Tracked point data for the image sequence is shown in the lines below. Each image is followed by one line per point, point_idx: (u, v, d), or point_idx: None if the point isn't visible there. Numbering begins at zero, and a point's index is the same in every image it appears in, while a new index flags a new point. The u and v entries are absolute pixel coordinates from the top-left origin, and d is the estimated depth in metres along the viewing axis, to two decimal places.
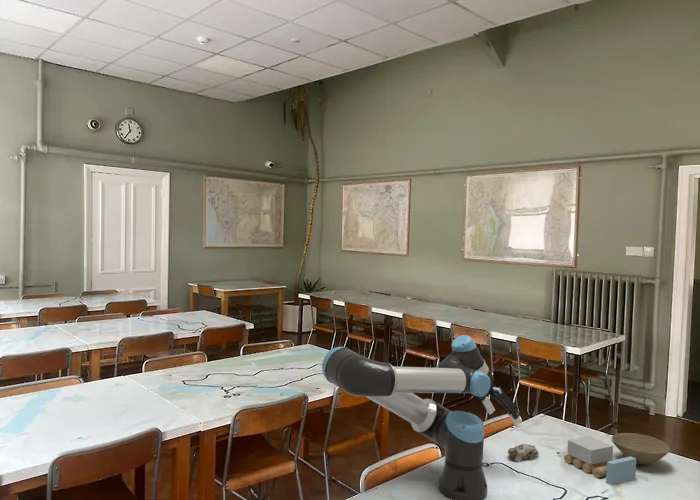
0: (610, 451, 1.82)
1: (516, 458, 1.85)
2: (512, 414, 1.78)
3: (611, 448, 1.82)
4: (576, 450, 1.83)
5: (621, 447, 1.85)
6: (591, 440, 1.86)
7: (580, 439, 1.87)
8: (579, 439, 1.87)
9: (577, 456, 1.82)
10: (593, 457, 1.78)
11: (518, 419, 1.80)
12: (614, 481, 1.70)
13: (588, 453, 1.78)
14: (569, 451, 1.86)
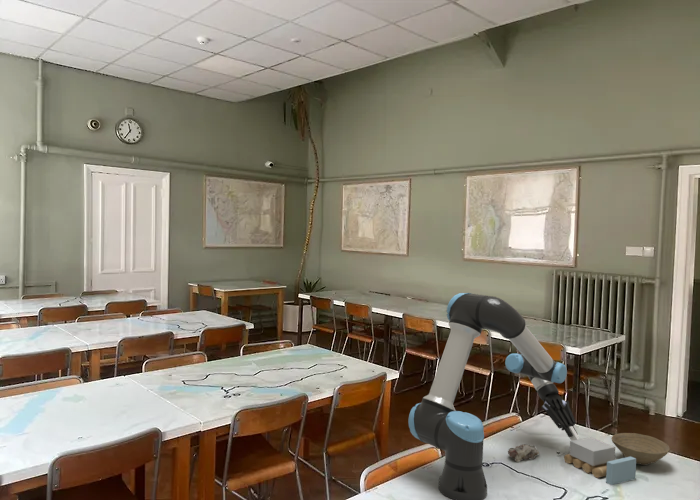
0: (612, 452, 1.81)
1: (516, 458, 1.85)
2: None
3: (613, 449, 1.81)
4: (578, 451, 1.82)
5: (621, 447, 1.85)
6: (594, 441, 1.85)
7: (582, 440, 1.87)
8: (581, 440, 1.86)
9: (579, 457, 1.82)
10: (596, 458, 1.77)
11: None
12: (614, 481, 1.70)
13: (591, 454, 1.77)
14: (571, 452, 1.85)
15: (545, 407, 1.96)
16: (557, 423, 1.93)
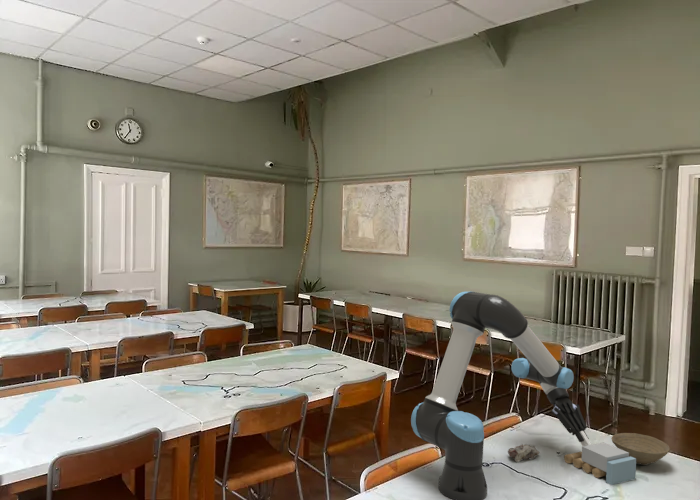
0: None
1: (516, 458, 1.85)
2: (584, 433, 1.88)
3: (627, 454, 1.76)
4: (591, 456, 1.77)
5: (621, 447, 1.85)
6: (606, 447, 1.81)
7: (594, 445, 1.82)
8: (593, 445, 1.82)
9: (592, 463, 1.77)
10: None
11: None
12: (614, 481, 1.70)
13: (604, 461, 1.73)
14: (583, 458, 1.80)
15: (555, 411, 1.91)
16: (567, 428, 1.88)
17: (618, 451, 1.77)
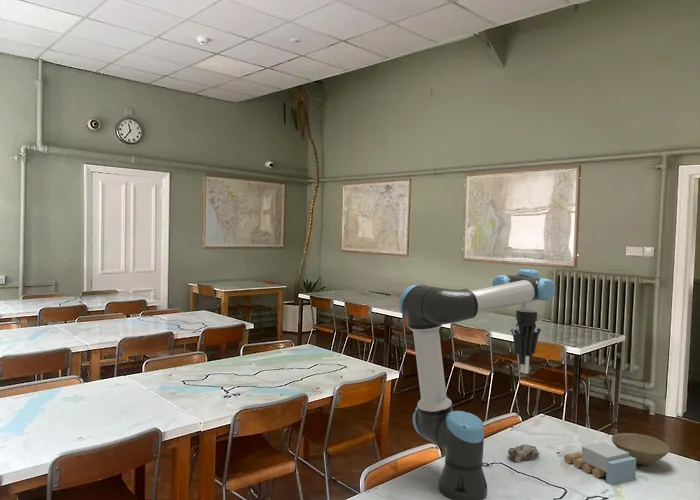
0: None
1: (516, 458, 1.85)
2: (528, 357, 1.93)
3: (627, 455, 1.76)
4: (591, 456, 1.77)
5: (621, 447, 1.85)
6: (606, 447, 1.81)
7: (594, 445, 1.82)
8: (594, 445, 1.82)
9: (592, 463, 1.77)
10: None
11: None
12: (614, 481, 1.70)
13: (604, 461, 1.73)
14: (583, 458, 1.80)
15: (514, 332, 1.90)
16: (516, 349, 1.92)
17: (618, 451, 1.77)
